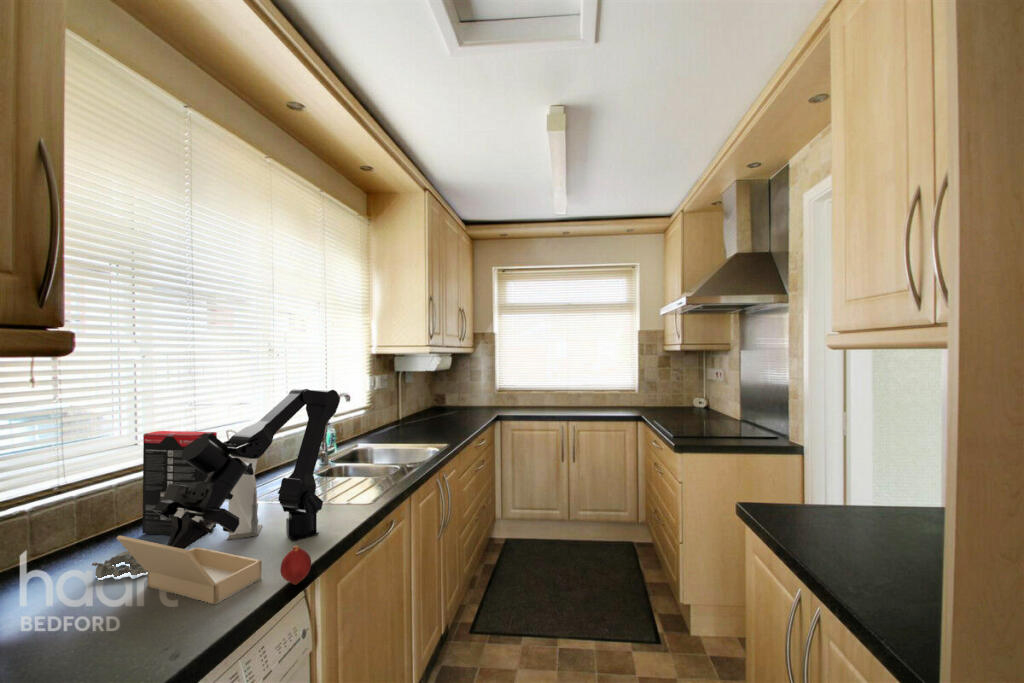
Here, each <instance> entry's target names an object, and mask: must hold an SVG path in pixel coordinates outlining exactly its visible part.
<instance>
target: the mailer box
mask: <svg viewBox="0 0 1024 683" xmlns="http://www.w3.org/2000/svg"><path fill="white" fill-rule="evenodd" d="M188 550H189V551H190V552H191V553H192V554H193V556H194V557H195V558H196V560H197V561H198V562H199V563H200V565H201V566H202V567H203V568H204V570H205V571H206V572H207V573H208V575H209V576H210V577H211V579H212V580H213V581H214V582H215V586H214V587H211V586H207V585H203V584H199V583H195V582H191V581H187V580H183V579H179V578H175V577H171V576H167V575H163V574H159V573H155V572H151V571H148V575H147V588H149V589H154V588H155V590H157V589H160V590H159V591H161V590H164V591H163V592H165V591H167V592H166V593H169V592H171V593H170V594H172V593H176V594H179V595H178V596H180V595H183V596H182V597H184V596H187V597H190V598H189V599H191V598H193V599H192V600H195V599H198V600H201V601H200V602H202V601H205V602H204V603H206V602H208V603H207V604H210V603H213V604H217V603H218V604H220V603H222V602H224V601H225V600H224V599H226V598H227V599H229V598H231V597H232V596H231V595H233V594H234V595H236V594H238V593H240V592H241V591H240V590H242V589H243V590H245V589H247V588H248V587H247V586H249V585H250V586H252V585H254V584H255V583H254V582H256V581H258V580H259V581H261V580H262V560H261V559H256V558H251V557H247V556H242V555H239V554H238V555H236V554H232V553H228V552H222V551H217V550H214V549H213V550H212V549H209V548H203V547H198V546H196V547H193V548H190V549H188ZM260 579H261V580H260ZM259 581H258V582H259ZM253 583H254V584H253ZM256 583H257V582H256ZM251 584H252V585H251ZM250 586H249V587H250ZM246 587H247V588H246ZM244 588H245V589H244ZM243 590H242V591H243ZM239 591H240V592H239ZM237 592H238V593H237ZM235 593H236V594H235ZM176 594H175V595H176ZM234 595H233V596H234ZM230 596H231V597H230ZM187 597H186V598H187ZM228 597H229V598H228ZM227 599H226V600H227ZM198 600H197V601H198ZM223 600H224V601H223ZM221 601H222V602H221ZM219 602H220V603H219ZM213 604H212V605H213ZM218 604H217V605H218Z"/></svg>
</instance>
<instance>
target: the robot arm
mask: <svg viewBox="0 0 1024 683" xmlns="http://www.w3.org/2000/svg"><path fill="white" fill-rule="evenodd" d="M340 402H341V396H340V395H339V393H338V392H337V391H336V390H335V389H318V388H317V389H316V388H315V389H308V388H294V389H292V390H290V392H288V394H287V396H285V397H284V398H283V399H282V400H281V401H280V402H279V403H278V404H277V405H275V406H274V407H272V409H271V410H270V411H268V413H266V414H265V415H264V416H263V417H262V418H260V420H258V421H257V422H255V423H254V424H251V425H248V426H246V427H244V428H242V429H240V430H239V431H236V432H237V433H236V434H235V433H233V434H232V436H231V437H229V440H228V439H226V440H224V441H221V440H220V439H218V437H216V436H215V435H214V434H213V433H204V434H203V436H202V437H200V438H197V439H195V440H194V441H192V442H191V443H190V444H188V445H187V446H186V447H185V448H184V450H183V451H182V454H181V458H182V459H183V460H184V461H186V462H187V463H189V464H190V465H192V466H193V467H195V468H196V469H198V470H199V471H201V472H202V473H205V474H206V473H210V472H211V473H210V475H209V476H208V477H207V479H206V480H205V481H204V482H203V481H199V482H193V483H192V484H191V485H190V486H184V485H176V484H169V485H168V487H167V489H166V492H165V494H164V496H163V499H162V500H163V501H160V502H159V503H158V504H157V505H156V507H155V508H154V509H153V511H154V512H156V513H158V514H160V515H162V516H164V517H166V518H167V519H169V520H171V521H172V525H173V529H172V532H171V535H169V538H168V542H167V544H166V545H167V546H172V547H176V548H181V549H187V548H188V547H190V546H191V545H192V544H194V543H196V542H197V541H198V540H200V539H201V538H203V537H205V536H207V535H208V534H212V533H213V532H214V531H213V529H211V528H212V527H213V525H214V524H216V525H219V526H221V528H222V531H223V532H227V533H229V532H231V533H234V532H235V531H236V529H237V527H238V526H239V524H240V521H239V517H237V516H235V515H234V514H232V513H231V512H229V511H228V509H226V508H222V505H223V504H224V503H225V501H226V500H228V501H229V500H231V499H232V497H233V495H232V494H230V493H231V491H232V490H233V488H234V487H235V485H236V484H237V483H238V481H239V480H240V478H241V477H242V475H243V474H245V475H253V474H254V472H253V468H252V463H247V462H245V463H244V462H243V461H242V460H240V459H239V458H248V459H257V460H258V459H259V458H261V457H263V456H264V454H265V453H266V452H267V450H268V449H269V447H270V446H271V445H272V443H273V440H274V437H275V435H276V434H277V433H278V431H280V430H281V428H283V427H284V425H286V424H287V423H288V422H289V421H290V420H291V419H292V418H293V417H294V416H295V415H296V414H297V413H298V412H299V411H301V410H302V409H303V407H304V406H305V410H306V414H307V419H308V420H307V423H306V427H305V431H304V434H303V438H302V440H301V444H300V448H299V451H298V455H297V459H296V462H295V465H294V469H293V471H292V473H291V474H290V475H289V476H288V477H283V478H282V480H281V481H280V483H281V484H280V487H279V490H277V495H278V494H279V495H278V498H277V499H278V502H279V503H280V505H281V507H282V510H283V512H284V513H286V512H287V513H288V517H287V518H286V520H285V521H286V523H285V524H286V526H285V527H286V529H285V530H286V531H285V532H286V535H287V536H288V537H289V538H290V540H291V541H297V540H301V539H304V537H305V538H308V537H307V536H309V537H312V536H311V535H313V536H316V535H315V534H317V535H319V534H318V533H319V531H318V530H317V522H318V521H317V520H318V519H317V517H318V515H317V514H318V513H319V511H321V510H322V508H323V505H324V501H323V500H322V499H321V498H320V497H319V496H318V495H316V490H317V483H316V480H315V476H314V472H315V469H316V466H317V461H318V458H319V455H320V454H319V453H320V450H321V447H322V443H323V439H324V436H325V433H326V429H327V428H326V427H327V424H328V422H329V421H330V420H331V418H333V417H334V415H335V414H336V413H337V411H338V408H339V405H340ZM229 454H231V455H232V456H234V457H239V458H232V457H230V456H229ZM254 475H255V474H254ZM179 502H180V503H179ZM193 514H194V515H193Z"/></svg>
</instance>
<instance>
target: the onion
mask: <svg viewBox="0 0 1024 683" xmlns="http://www.w3.org/2000/svg"><path fill="white" fill-rule="evenodd" d="M311 566H312V558H311V556H310V554H309V553H308V552H307V551H306V550H305V549H304V548H303V549H302V548H300V546H299V545H294V546H293V547H292V550H291V551H289V552H288V553H287V554H286V555H285V556H284V557H283V559H282V561H281V564H280V576H281V577H282V579H284V581H287V582H289V583H291V584H292V585H298V584H299V583H300V582H302V581H303V580H304V579H305V578H306V576H307V577H308V575H309V573H310V571H311Z"/></svg>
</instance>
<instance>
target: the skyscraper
mask: <svg viewBox="0 0 1024 683" xmlns="http://www.w3.org/2000/svg"><path fill="white" fill-rule="evenodd" d="M229 432H231V433H233V434H236V433H237V432H238V431H235V430H233V429H227V430H226V431H225V433H226V437H227V438H226V440H229V439H230V436H229ZM229 456H230V457H232V458H239V457H234V456H232V455H231V454H229ZM239 459H240V460H242V461H243V462H244V463H245V462H247V463H252V468H253V472H254V474H253V475H245V474H243V475H242V477H241V478H240V480H239V481H238V483H237V484H236V485H235V487H234V488H233V490H232V491H231V493H230V494H232V495H233V497H232V499H231V500H228V509H227V511H229V512H231V513H232V514H234V515H235V516H237V517H239V521H240V524H239V526H238V527H237V529H236V531H235V532H234V533H231V532H228V536H227V541H231V539H232V540H239V539H244V537H246V538H251V537H250V536H253V537H258V536H259V534H260V533H259V532H261V530H262V528H263V524H259V518H258V517H259V516H258V512H259V511H258V510H259V502H258V488H257V481H256V480H257V479H256V477H255V476H256V475H255V473H256V470H257V463H258V458H257V459H248V458H239ZM257 535H258V536H257ZM238 538H239V539H238Z"/></svg>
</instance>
